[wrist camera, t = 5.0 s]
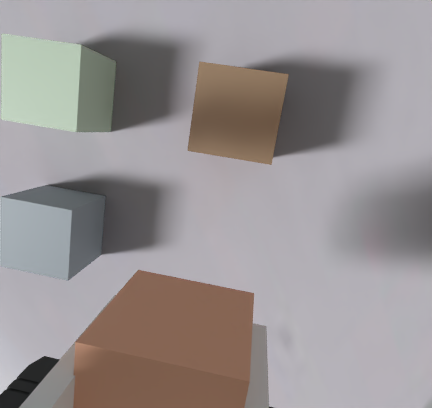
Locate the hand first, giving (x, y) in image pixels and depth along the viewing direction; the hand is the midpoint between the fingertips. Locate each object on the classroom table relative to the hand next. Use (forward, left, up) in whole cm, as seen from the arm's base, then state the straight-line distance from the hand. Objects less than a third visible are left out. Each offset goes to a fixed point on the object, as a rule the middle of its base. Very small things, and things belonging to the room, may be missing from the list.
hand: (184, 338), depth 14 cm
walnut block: (-10, 0, -12) cm, 16 cm away
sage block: (-10, -12, -12) cm, 20 cm away
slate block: (0, -12, -12) cm, 17 cm away
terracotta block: (0, 0, 0) cm, 0 cm away
